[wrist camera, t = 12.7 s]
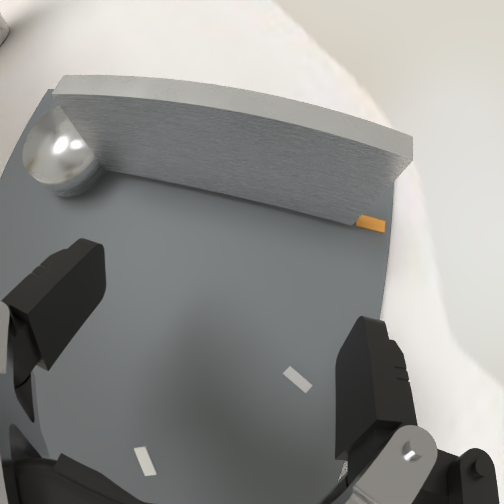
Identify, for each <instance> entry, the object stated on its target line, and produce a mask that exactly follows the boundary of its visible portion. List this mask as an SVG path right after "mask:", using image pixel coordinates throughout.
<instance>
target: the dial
mask: <svg viewBox="0 0 504 504" xmlns="http://www.w3.org/2000/svg"><path fill="white" fill-rule="evenodd" d="M52 96H53V97H54V98H55V100H56V101H57V103H58V104H59V105H58V106H56V107H54V108H53V109H51V110H50V111H48V112H47V113H46V114H45V115H43V116H42V117H41V118H40V119H39V120H38V121H37V123H36V124H35V125H34V126H33V128H32V129H31V131H30V133H29V134H28V136H27V138H26V141H25V144H24V147H23V154H22V159H23V164H24V167H25V169H26V170H27V172H28V173H29V174H30V175H32V176H33V177H34V178H35V179H36V180H37V181H38V182H40V183H41V184H42V185H43V186H44V187H45V188H47V189H48V190H49V191H50V192H51V193H53V194H54V195H56V196H59V197H72V196H76V195H79V194H81V193H84V192H85V191H87V190H89V189H90V188H92V187H93V186H94V185H95V184H96V183H97V182H98V181H99V180H100V179H101V178H102V177H103V176H104V174H105V173H106V171H107V170H110V171H115V172H121V173H126V174H131V175H137V176H142V177H147V178H152V179H157V180H162V181H167V182H172V183H177V184H182V185H186V186H191V187H196V188H200V189H205V190H209V191H214V192H218V193H223V194H227V195H232V196H236V197H240V198H245V199H249V200H253V201H257V202H262V203H266V204H270V205H274V206H278V207H282V208H286V209H290V210H294V211H298V212H302V213H306V214H310V215H314V216H317V217H321V218H325V219H329V220H333V221H336V222H340V223H344V224H347V225H351V226H352V225H353V224H354V223H355V222H356V221H357V220H358V219H359V217H360V216H361V215H362V214H363V213H364V212H365V211H366V210H367V209H368V208H369V207H370V206H371V205H372V204H373V203H374V202H375V201H376V200H377V199H378V198H379V197H380V195H381V194H382V193H383V192H384V191H385V190H386V189H387V188H388V187H389V186H390V185H391V184H392V183H393V182H394V180H395V179H396V178H397V177H398V176H399V175H400V174H401V173H402V172H403V171H404V170H405V168H406V167H407V166H408V165H409V164H410V163H411V162H412V161H413V137H412V136H409V135H407V134H404V133H401V132H399V131H396V130H393V129H390V128H388V127H385V126H382V125H379V124H376V123H373V122H370V121H367V120H364V119H361V118H358V117H354V116H351V115H348V114H344V113H341V112H338V111H334V110H331V109H327V108H323V107H320V106H316V105H312V104H308V103H304V102H300V101H296V100H292V99H287V98H283V97H279V96H274V95H269V94H264V93H259V92H254V91H249V90H244V89H238V88H232V87H226V86H220V85H213V84H206V83H199V82H191V81H182V80H173V79H162V78H150V77H134V76H111V75H66V76H63V77H62V79H61V80H60V82H59V83H58V85H57V86H56V88H55V89H54V91H53V92H52Z"/></svg>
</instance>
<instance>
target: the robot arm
mask: <svg viewBox="0 0 504 504" xmlns="http://www.w3.org/2000/svg"><path fill="white" fill-rule="evenodd" d="M8 33H9V27H8V26H7V24H6V22H5V20H4V19H3V17H2V15H1V13H0V45H1V44H2V42H3V41H4V40H5V38H6V37H7V35H8ZM105 291H106V269H105V251H104V247H103V245H102V244H100V243H97V242H93V241H90V240H87V239H84V238H80V239H78V240H77V241H76V242H75V243H73V244H72V245H71V246H70V247H69V248H68V249H62V250H60V251H58V252H56V253H54V254H51V255H50V256H49V257H48V258H46V259H45V260H44V261H43V262H42V263H41V264H40V266H37V267H36V268H35V269H34V270H33V271H32V273H31V274H29V275H28V276H26V277H25V278H24V279H23V280H22V281H21V282H20V283H19V284H18V285H17V286H16V287H15V288H14V289H13V290H12V291H11V292H10V293H9V294H8V295H6V296H5V297H4V298H3V299H2V300H1V301H0V504H153V503H146V502H143V501H141V500H139V499H137V498H136V497H134V496H133V495H131V494H130V493H128V492H127V491H125V490H124V489H122V488H121V487H120V486H118V485H117V484H115V483H114V482H113V481H111V480H110V479H108V478H107V477H106V476H104V475H103V474H102V473H100V472H98V471H96V470H94V469H92V468H90V467H88V466H86V465H83V464H81V463H80V462H78V461H76V460H74V459H72V458H70V457H68V456H66V455H64V454H62V453H61V454H60V456H59V458H58V460H53V459H50V456H49V452H48V448H47V445H46V442H45V440H44V438H43V435H42V432H41V428H40V422H39V414H38V405H37V395H36V382H35V374H34V371H33V369H34V367H35V366H36V365H37V366H39V367H41V368H43V369H44V370H46V371H49V370H50V369H51V367H52V366H53V364H54V363H55V362H56V360H57V359H58V357H59V356H60V355H61V353H62V352H63V350H64V349H65V348H66V346H67V345H68V344H69V342H70V341H71V340H72V338H73V337H74V336H75V334H76V333H77V332H78V330H79V329H80V328H81V326H82V325H83V324H84V323H85V321H86V320H87V319H88V317H89V316H90V315H91V313H92V312H93V311H94V310H95V308H96V307H97V306H98V305H99V303H100V302H101V301H102V299H103V297H104V294H105ZM408 380H409V377H408V373H407V371H406V363H405V359H404V355H403V353H402V351H401V350H400V348H399V346H398V345H397V343H396V342H395V341H394V340H390V339H389V337H388V333H387V328H386V324H385V322H384V321H382V320H377V319H373V318H369V317H365V316H360V317H359V318H358V319H357V320H356V322H355V324H354V326H353V327H352V329H351V331H350V333H349V335H348V336H347V338H346V340H345V342H344V343H343V345H342V347H341V349H340V351H339V353H338V356H337V359H336V365H335V387H336V427H335V460H345V461H348V472H347V473H346V474H345V475H344V476H343V477H342V478H341V479H340V480H339V481H338V482H337V484H336V485H335V486H334V487H333V488H332V489H331V490H330V491H329V492H328V493H327V494H326V495H325V496H324V497H323V498H322V499H321V500H320V501H319V502H318V503H317V504H499V496H498V488H497V480H496V473H495V467H494V464H493V461H492V459H491V458H490V456H489V455H488V454H487V453H486V452H485V451H483V450H481V449H478V448H472V449H469V450H468V451H466V452H465V453H464V454H462V455H461V456H460V457H458V456H455V455H453V454H450V453H447V452H444V451H442V450H439V449H437V446H436V443H435V441H434V439H433V438H432V436H431V435H430V434H429V433H428V432H427V431H426V430H424V429H423V428H421V427H418V425H417V420H416V414H415V408H414V403H413V397H412V392H411V387H410V382H408Z"/></svg>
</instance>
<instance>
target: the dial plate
mask: <svg viewBox="0 0 504 504" xmlns="http://www.w3.org/2000/svg"><path fill="white" fill-rule="evenodd" d="M53 91H54V89H48V91H47V92H46V94H45V95H44V97H43V99H42V100H41V102H40V103H39V105H38V107H37V108H36V110H35V112H34V113H33V115H32V117H31V119H30V120H29V122H28V124H27V126H26V128H25V129H24V131H23V133H22V135H21V137H20V139H19V141H18V142H17V144H16V146H15V148H14V150H13V152H12V154H11V156H10V159H9V161H8V163H7V165H6V167H5V169H4V171H3V174H2V176H1V178H0V301H1V300H2V299H3V298H4V297H5V296H6V295H8V294H9V293H10V292H11V291H12V290H13V289H14V288H15V287H16V286H17V285H18V284H19V283H20V282H21V281H22V280H23V279H24V278H25V277H26V276H28V275H29V274H31V273H32V271H33V270H34V269H35V268H36V267H37V266H40V264H41V263H42V262H43V261H44V260H45V259H46V258H48V257H49V256H50V255H51V254H54V253H56V252H58V251H60V250H62V249H68V248H69V247H70V246H71V245H72V244H73V243H75V242H76V241H77V240H78V239H80V238H84V239H87V240H90V241H93V242H97V243H100V244H102V245H103V247H104V251H105V269H106V291H105V294H104V297H103V299H102V301H101V302H100V303H99V305H98V306H97V307H96V308H95V310H94V311H93V312H92V313H91V315H90V316H89V317H88V319H87V320H86V321H85V323H84V324H83V325H82V326H81V328H80V329H79V330H78V332H77V333H76V334H75V336H74V337H73V338H72V340H71V341H70V342H69V344H68V345H67V346H66V348H65V349H64V350H63V352H62V353H61V355H60V356H59V357H58V359H57V360H56V362H55V363H54V364H53V366H52V367H51V369H50V370H49V371H46V370H44V369H43V368H41V367H39V366H37V365H36V366H35V367H34V369H33V371H34V374H35V382H36V395H37V405H38V414H39V422H40V428H41V432H42V435H43V438H44V440H45V442H46V445H47V448H48V452H49V456H50V459H53V460H58V458H59V456H60V454H61V453H62V454H64V455H66V456H68V457H70V458H72V459H74V460H76V461H78V462H80V463H81V464H83V465H86V466H88V467H90V468H92V469H94V470H96V471H98V472H100V473H102V474H103V475H104V476H106V477H107V478H108V479H110V480H111V481H113V482H114V483H115V484H117V485H118V486H120V487H121V488H122V489H124V490H125V491H127V492H128V493H130V494H131V495H133V496H134V497H136V498H137V499H139V500H141V501H143V502H146V503H153V504H317V503H318V502H319V501H320V500H321V499H322V498H323V497H324V496H325V495H326V494H327V493H328V492H329V491H330V490H331V489H332V488H333V487H334V486H335V485H336V484H337V482H338V479H339V476H340V473H341V470H342V467H343V464H344V461H345V460H335V427H336V387H335V365H336V359H337V356H338V353H339V351H340V349H341V347H342V345H343V343H344V342H345V340H346V338H347V336H348V335H349V333H350V331H351V329H352V327H353V326H354V324H355V322H356V320H357V319H358V318H359V317H360V316H365V317H369V318H373V319H377V320H379V318H380V312H381V306H382V299H383V292H384V285H385V278H386V270H387V262H388V253H389V243H390V233H391V220H392V206H393V188H394V182H393V183H392V184H391V185H390V186H389V187H388V188H387V189H386V190H385V191H384V192H383V193H382V194H381V195H380V197H379V198H378V199H377V200H376V201H375V202H374V203H373V204H372V205H371V206H370V207H369V208H368V209H367V210H366V211H365V212H364V213H363V214H362V215H361V216H360V217H359V219H358V220H357V221H356V222H355V223H354V224H353V225H352V226H351V225H347V224H344V223H340V222H336V221H333V220H329V219H325V218H321V217H317V216H314V215H310V214H306V213H302V212H298V211H294V210H290V209H286V208H282V207H278V206H274V205H270V204H266V203H262V202H257V201H253V200H249V199H245V198H240V197H236V196H232V195H227V194H223V193H218V192H214V191H209V190H205V189H200V188H196V187H191V186H186V185H182V184H177V183H172V182H167V181H162V180H157V179H152V178H147V177H142V176H137V175H131V174H126V173H121V172H115V171H110V170H107V171H106V173H105V174H104V176H103V177H102V178H101V179H100V180H99V181H98V182H97V183H96V184H95V185H94V186H93V187H92V188H90V189H89V190H87V191H85V192H84V193H81V194H79V195H76V196H72V197H59V196H56V195H54V194H53V193H51V192H50V191H49V190H48V189H47V188H45V187H44V186H43V185H42V184H41V183H40V182H38V181H37V180H36V179H35V178H34V177H33V176H32V175H30V174H29V173H28V172H27V170H26V169H25V167H24V164H23V159H22V154H23V147H24V144H25V141H26V138H27V136H28V134H29V133H30V131H31V129H32V128H33V126H34V125H35V124H36V123H37V121H38V120H39V119H40V118H41V117H42V116H43V115H45V114H46V113H47V112H48V111H50V110H51V109H53V108H54V107H56V106H58V105H59V104H58V103H57V101H56V100H55V98H54V97H53V96H52V92H53Z"/></svg>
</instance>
